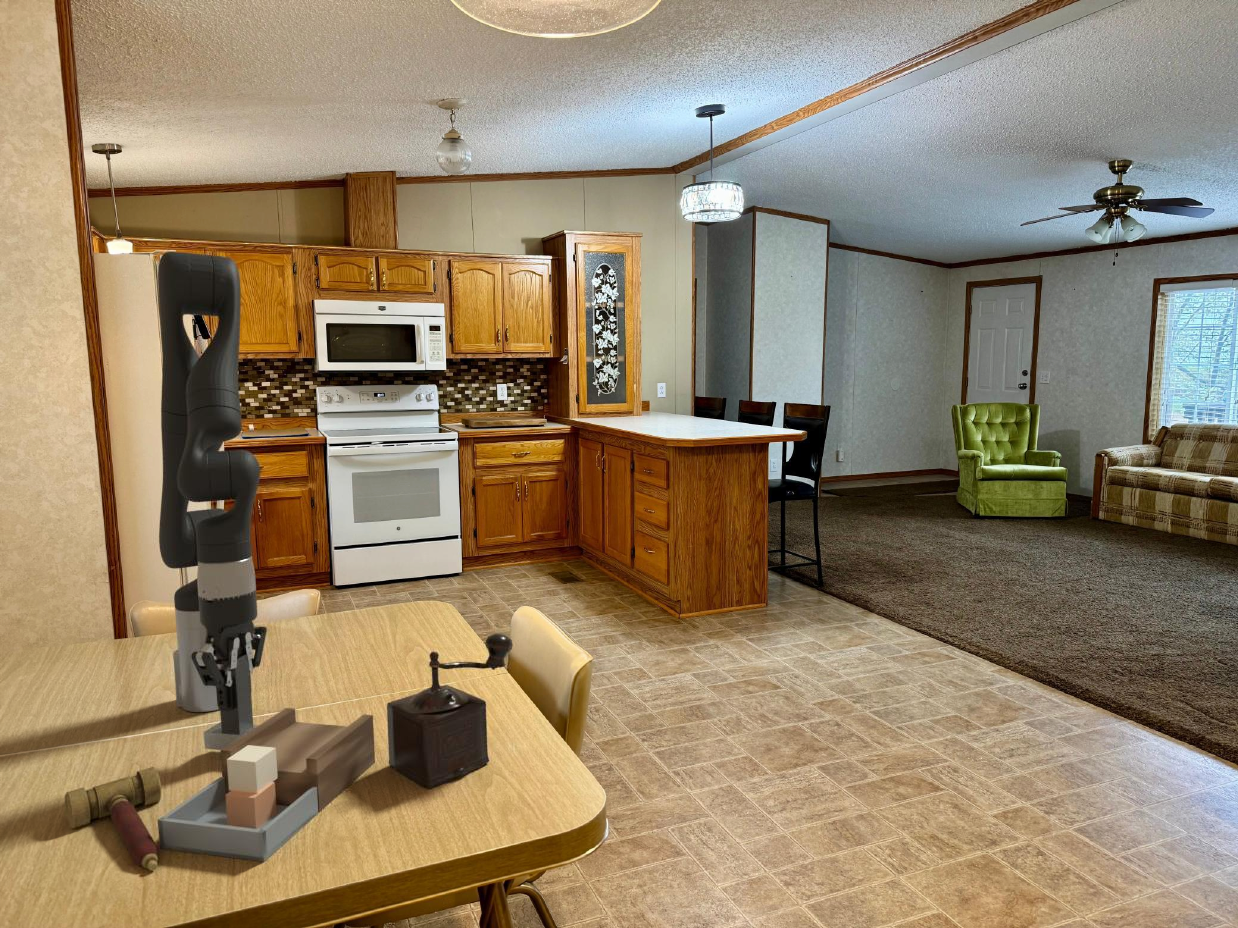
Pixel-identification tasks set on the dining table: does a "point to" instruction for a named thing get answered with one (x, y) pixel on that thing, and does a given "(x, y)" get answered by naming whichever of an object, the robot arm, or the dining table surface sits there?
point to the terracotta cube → (251, 807)
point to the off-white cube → (252, 769)
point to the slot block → (310, 755)
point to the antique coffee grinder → (442, 725)
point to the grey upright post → (234, 710)
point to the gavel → (120, 811)
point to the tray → (208, 832)
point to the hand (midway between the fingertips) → (235, 704)
